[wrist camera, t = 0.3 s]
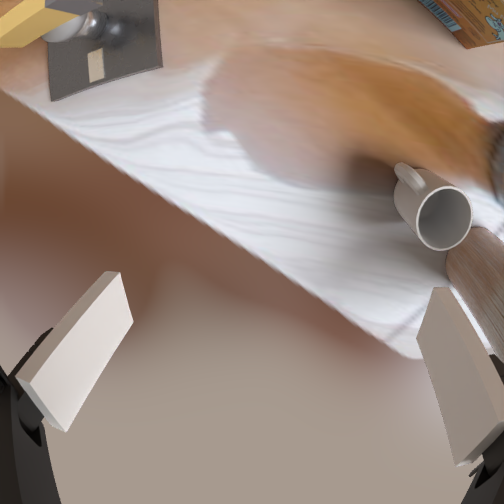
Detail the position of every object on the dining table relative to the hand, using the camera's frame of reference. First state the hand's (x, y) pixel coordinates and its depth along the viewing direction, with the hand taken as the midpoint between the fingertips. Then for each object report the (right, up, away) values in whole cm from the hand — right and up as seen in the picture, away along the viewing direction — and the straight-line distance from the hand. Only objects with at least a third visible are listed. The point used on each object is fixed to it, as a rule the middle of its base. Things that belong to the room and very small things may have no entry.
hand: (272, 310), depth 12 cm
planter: (+32, +2, +26) cm, 41 cm away
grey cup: (+19, +11, +23) cm, 32 cm away
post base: (-22, +33, +18) cm, 43 cm away
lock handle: (-23, +30, +11) cm, 39 cm away
